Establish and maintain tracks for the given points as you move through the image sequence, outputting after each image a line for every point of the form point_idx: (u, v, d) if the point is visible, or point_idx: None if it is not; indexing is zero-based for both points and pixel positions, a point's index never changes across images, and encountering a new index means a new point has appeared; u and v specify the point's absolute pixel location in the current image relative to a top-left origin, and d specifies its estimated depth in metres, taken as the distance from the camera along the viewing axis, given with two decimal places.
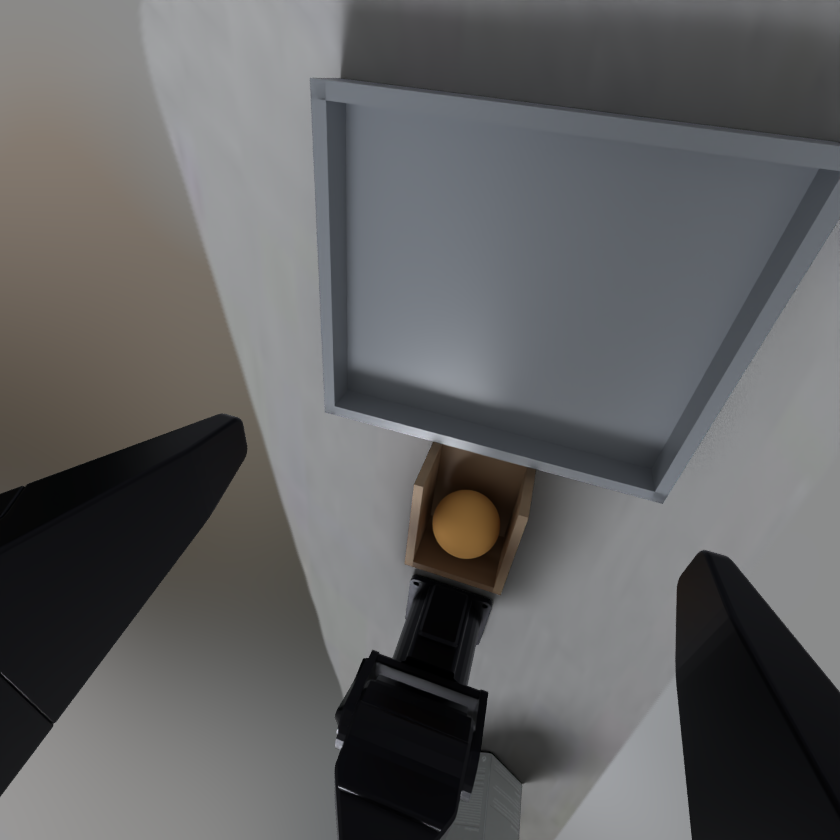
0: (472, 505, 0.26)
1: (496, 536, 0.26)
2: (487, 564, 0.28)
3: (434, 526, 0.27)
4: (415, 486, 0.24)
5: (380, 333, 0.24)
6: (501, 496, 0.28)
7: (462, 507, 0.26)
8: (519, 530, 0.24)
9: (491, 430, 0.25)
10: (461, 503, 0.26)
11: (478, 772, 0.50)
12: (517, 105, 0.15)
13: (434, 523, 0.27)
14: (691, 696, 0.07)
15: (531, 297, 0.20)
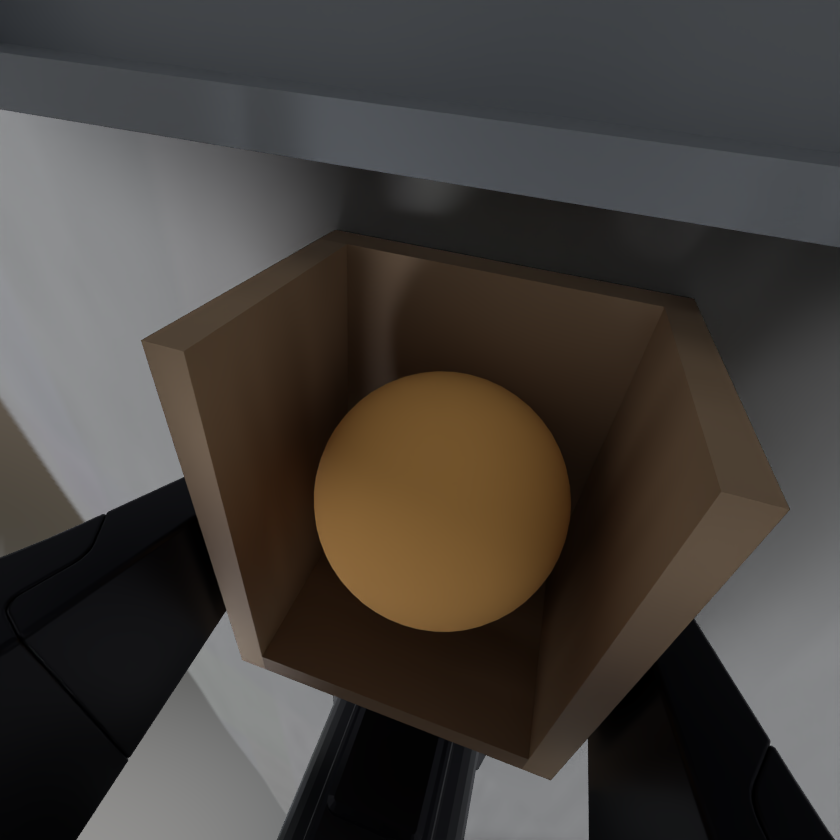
0: (475, 379, 0.07)
1: (567, 519, 0.06)
2: (503, 661, 0.09)
3: (319, 472, 0.07)
4: (152, 352, 0.05)
5: None
6: None
7: (438, 378, 0.07)
8: (695, 579, 0.04)
9: (532, 114, 0.05)
10: (433, 374, 0.07)
11: None
12: None
13: (321, 462, 0.07)
14: None
15: None
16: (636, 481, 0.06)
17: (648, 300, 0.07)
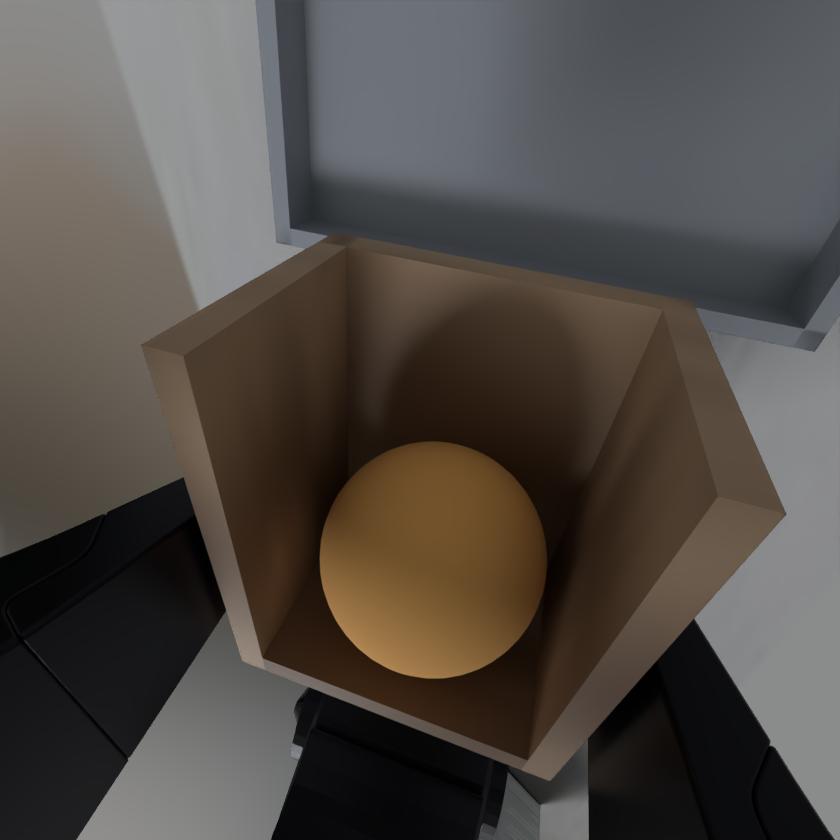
0: (437, 522, 0.07)
1: (535, 609, 0.07)
2: (503, 663, 0.09)
3: (321, 577, 0.08)
4: (152, 356, 0.05)
5: (359, 98, 0.15)
6: (548, 447, 0.09)
7: (398, 533, 0.07)
8: (691, 583, 0.04)
9: (529, 262, 0.16)
10: (395, 514, 0.07)
11: None
12: None
13: (320, 568, 0.08)
14: None
15: None
16: (635, 484, 0.06)
17: (647, 303, 0.07)
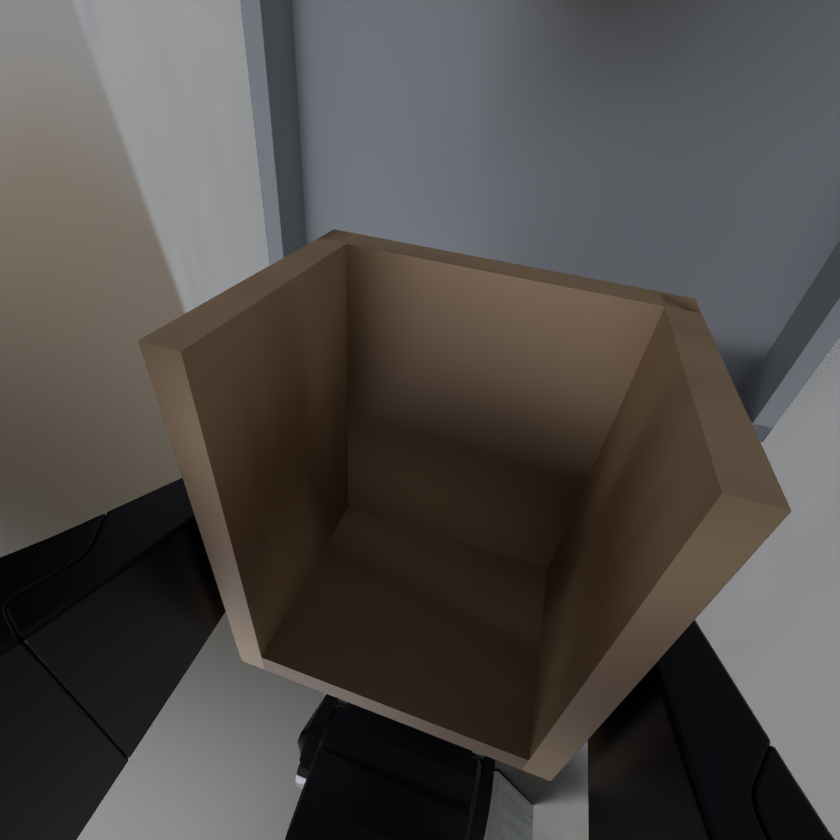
0: None
1: None
2: (503, 662, 0.09)
3: None
4: (149, 352, 0.05)
5: (350, 202, 0.16)
6: (549, 445, 0.09)
7: None
8: (696, 581, 0.04)
9: None
10: None
11: None
12: None
13: None
14: None
15: (575, 112, 0.13)
16: (636, 482, 0.06)
17: (648, 300, 0.07)
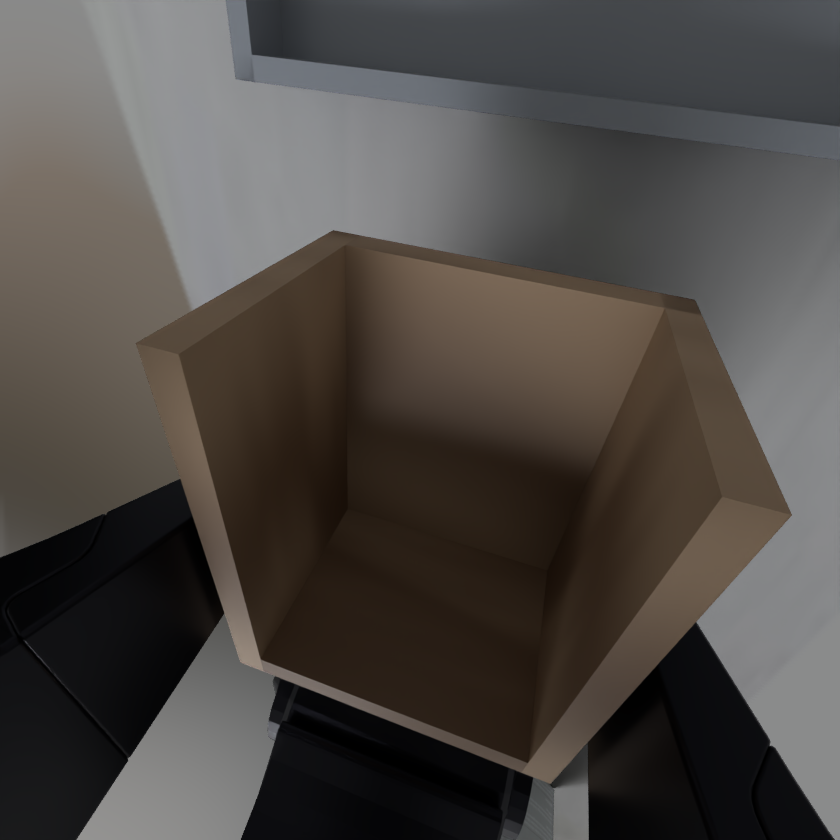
0: None
1: None
2: (503, 664, 0.09)
3: None
4: (147, 355, 0.05)
5: None
6: (549, 446, 0.09)
7: None
8: (695, 584, 0.04)
9: (568, 91, 0.12)
10: None
11: None
12: None
13: None
14: None
15: None
16: (636, 484, 0.06)
17: (648, 301, 0.07)
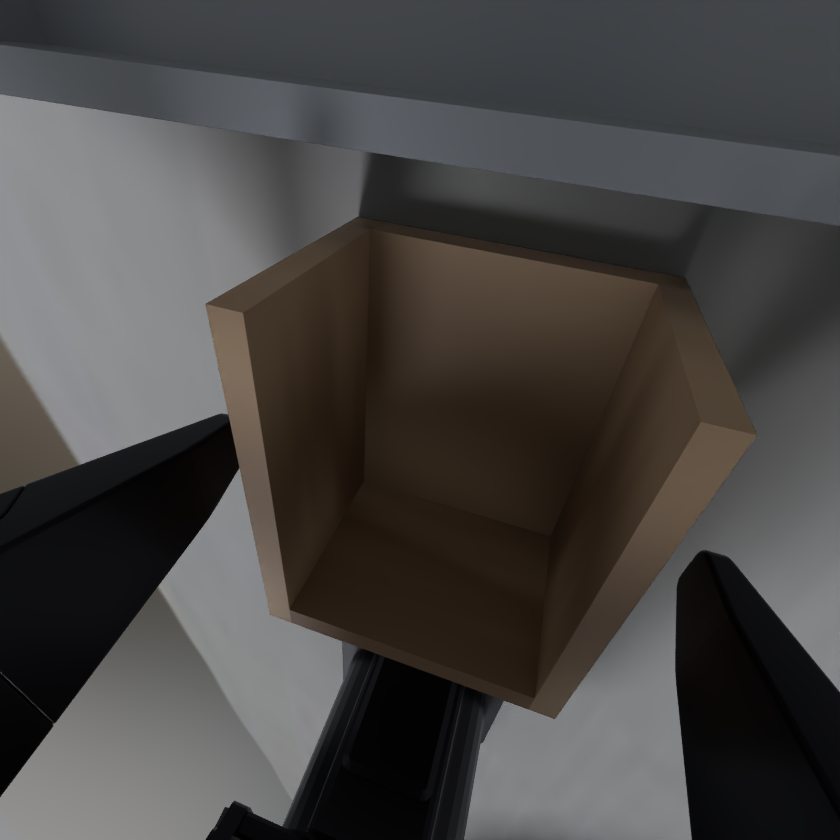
0: None
1: None
2: (511, 616, 0.10)
3: None
4: (214, 314, 0.05)
5: None
6: (553, 416, 0.09)
7: None
8: (680, 504, 0.05)
9: (540, 108, 0.06)
10: None
11: None
12: None
13: None
14: (691, 696, 0.07)
15: None
16: (632, 436, 0.07)
17: (644, 279, 0.08)
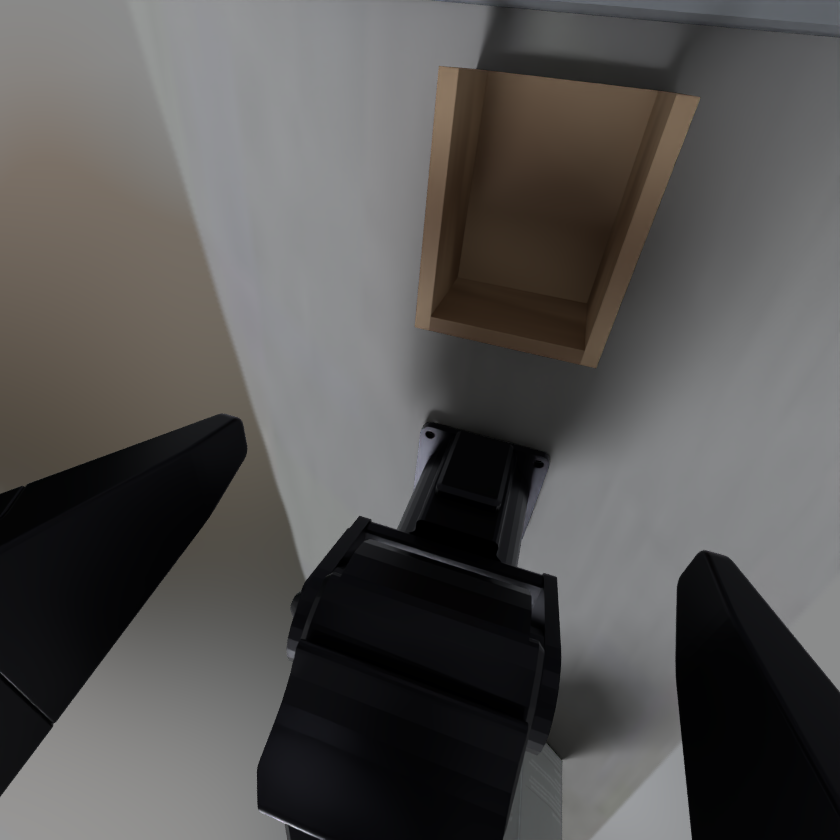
0: None
1: None
2: (566, 326, 0.15)
3: None
4: (441, 72, 0.11)
5: None
6: (593, 198, 0.15)
7: None
8: (668, 151, 0.11)
9: None
10: None
11: None
12: None
13: None
14: (691, 696, 0.07)
15: None
16: (644, 159, 0.12)
17: None
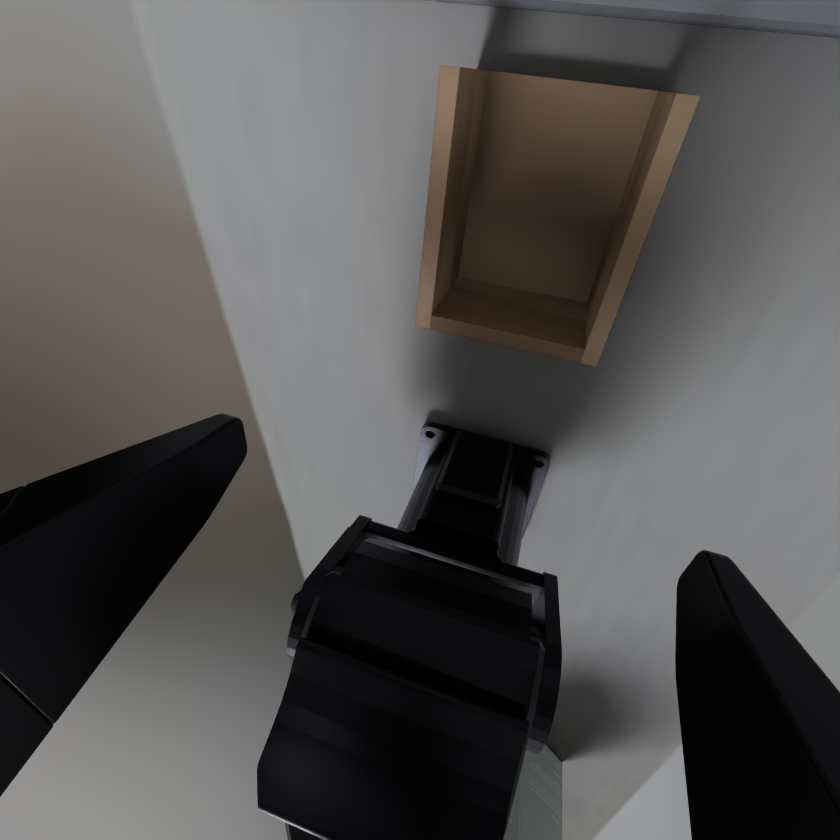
0: None
1: None
2: (566, 325, 0.15)
3: None
4: (443, 71, 0.11)
5: None
6: (593, 197, 0.15)
7: None
8: (668, 150, 0.11)
9: None
10: None
11: None
12: None
13: None
14: (691, 696, 0.07)
15: None
16: (644, 158, 0.12)
17: (650, 90, 0.13)
